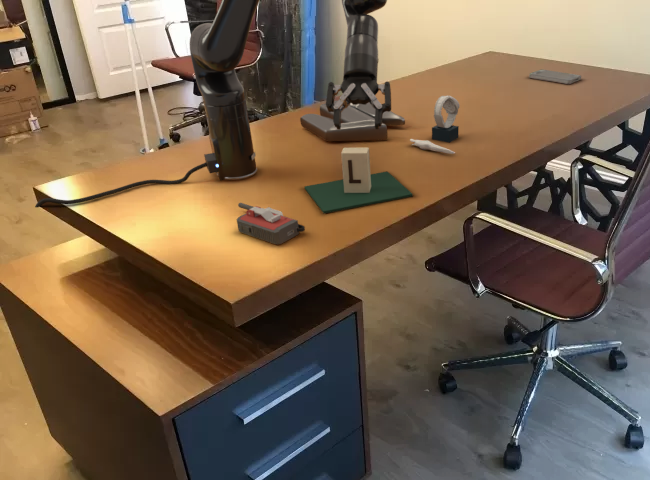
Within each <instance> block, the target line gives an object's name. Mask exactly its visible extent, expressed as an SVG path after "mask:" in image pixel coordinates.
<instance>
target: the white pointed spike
mask: <svg viewBox="0 0 650 480" xmlns="http://www.w3.org/2000/svg"><path fill="white" fill-rule="evenodd" d="M409 142H411V143H412V144H411V146H416V147H417V148H420V149H421V150H425V151H427V150H430V151H433V152H440V153H443V154H450V155H455V154H456V152H455V151H453V150H452V149H448V148H446V147H444V146H441V145H438V144H435V143H433V142H432V141H431V140H427V139H426V140H421V139H413V138H410V139H409Z"/></svg>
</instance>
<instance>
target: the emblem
mask: <svg viewBox="0 0 650 480" xmlns="http://www.w3.org/2000/svg"><path fill="white" fill-rule="evenodd" d="M337 102H338V100H334V104H336V103H337ZM319 113H320V114H316V113H306V114H303V115H302V116H300V118H299V122H300V126H301V127H302V128H304V129H305V130H307V131H309V132H311V133H312V134H315V135H316V136H317V137H319V138H321V139H323V140H324V141H326V142H365V141H366V142H367V141H368V142H369V141H370V142H372V141H373V142H374V141H387V140H388V127H389V126H390V127H399V126H403V125H405V124H406V119H405V117H403V116H401V115H399V114H397V113H396V112H393V111H392V110H391V111H390V112H388V111H386V112H384V113H383V116H382V126H381V127H379V129H375V109H374V108H373V107H372V106H371V104H370V103H367V104H366V105H363V104H357V105H353V104H352V103H351V104H350V105H349V106H348V107H347V108H345V109H344V110H343V111H342V112H341V129H337V127H335V125H334V122H333V117H334V112H329V111H328V109H327V107H326V102H325V103H321V104H320V106H319ZM387 126H388V127H387Z"/></svg>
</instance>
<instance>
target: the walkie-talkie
mask: <svg viewBox="0 0 650 480" xmlns="http://www.w3.org/2000/svg"><path fill="white" fill-rule="evenodd" d="M237 206H238V208H240V209H243V210H246V211H245V213H243V214H242V215H240V216H238V217H237V218H236V225H237V230H238V233H242V234H244V235H247V236H250V237H253V238H256V239H259V240H261V241H264V242H267V243H270V244H273V245H276V246H277V245H282V244H284V243H286V242H288V241H290V240H291V239H293V238H295V237H296V236H298V235H300V233H303V232H305V230H306V227H305V225H303V224H299V221H298V220H297V219H294V218H292V217H291V218H290V217H287V216H284V214H283V212H282V211H280V210H278V209H275V208H272V207H269V206H268V207H266V208H264V207H260V206H257V205H255V206H253V205H250V204H248V203H247V204H246V203H243V202H238V204H237Z"/></svg>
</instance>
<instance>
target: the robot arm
mask: <svg viewBox="0 0 650 480" xmlns="http://www.w3.org/2000/svg"><path fill="white" fill-rule="evenodd" d="M260 1H261V0H221V2H220V4H219V7H218V10H217V12H216V14H215V17H214V19H213V21H212V22H205V23H201V24H199V25H198V26H196V27H195V28H193V31H192V32H191V34H190V38H189V52H190V59H191V63H192V69H193V72H194V76H195V80H196V84H197V88H198V91H199V92H200V94H201V97H202V101H203V106H204V111H205V116H206V122H207V128H208V132H209V133H208V138H209V142H210V149H211V153H205V154H203V157H204V160H205V162H203V163H201V164H198V165H196V166H194V167H193V168H191V169H189V170H188V171H187V172H186V174H185V175H184V176H183V177H182V178H180V179H175V180H165V179H145V180H140V181H137V182H133V183H129V184H126V185H123V186H120V187H117V188H114V189H109V190H106V191H103V192H100V193H99V192H98V193H96V194H93V195H89V196H84V197H81V198H75V199H68V200H67V199H58V198H52V197H46V198H42V199H40V200H39V201H38V202H37V203H36V204H35V206H34V208H40V207H42V205H44V204H47V203H54V204H59V205H76V204H81V203H85V202H90V201H93V200H97V199H101V198H104V197H107V196H110V195H114V194H117V193H120V192H123V191H127V190H130V189H133V188H137V187H140V186H145V185H153V184H154V185H155V184H157V185H179V184H182V183H184V182H186V181H187V180H188V179H189V178H190V176H191V175H193V173H195V172H198V171H199V170H201V169H204V168H206V169H207V171H208V172H209V174H216V176H217V178H218V179H219V181H221V182H222V181H240V180H245V179H248V178H249V179H250V178H251V177H253V176H255V175H256V174H258V167H257V162H256V155H257V154H256V151H255V150H254V144H253V137H252V132H251V124H250V119H249V112H248V105H247V100H246V94H245V93H246V92H245V89H244V86H243V84H242V83H241V81H240V80H239V78H238V75H237V72H236V68H237V67H238V65H240V62H241V61H242V58H243V56H244V53H245V48H246V45H247V41H248V37H249V33H250V29H251V26H252V22H253V19H254V16H255V14H256V11H257V8H258V5H259V3H260ZM387 2H388V0H341V5H342V9H343V13H344V17H345V23H346V27H347V28H346V29H347V30H346V44H345V49H344V60H343V76H342V77H343V78H342V82H341V84H335V83H334V82H333V81H329V83H328V85H327V93H326V99H325V103H326V107H327V109H328V111H329V112H334V117H333V122H334V125H335V127H337V129H341V112H342V111H343V110H344V109H345V108H347V107H348V106H349V105H350V104H351V103H352V104H353V105H357V104H363V105H366V104H367V103H370V104H371V106H372V107H373V108H374V109H375V129H379V127H381V126H382V116H383V113H384V112H386V111H388V112H390V111H392V87H391V83H390V81H385V82H384V83H380V84H379V83H378V69H379V67H378V66H379V59H380V58H379V47H378V46H379V45H378V44H379V23H378V21H377V19H376V18H375V17H374V16H372V15H371V14H372V13H373V12H376V11H378V10H381V9H383V8H384V7H385V6H386V5H387ZM379 91H380V92H381V94H382V95H384V103H381V102H380V100H379V99H378V98H377V96H376V95H377V94H378V93H379ZM339 92H341V93H342V94H341V95H340V96H339V98H338V99H337V101H338V102H337V103H336V104H334V101H335V99H336V98H335V97H336V96H337V95H339Z"/></svg>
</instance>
